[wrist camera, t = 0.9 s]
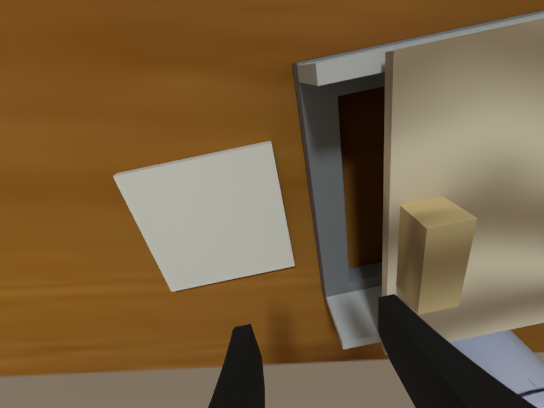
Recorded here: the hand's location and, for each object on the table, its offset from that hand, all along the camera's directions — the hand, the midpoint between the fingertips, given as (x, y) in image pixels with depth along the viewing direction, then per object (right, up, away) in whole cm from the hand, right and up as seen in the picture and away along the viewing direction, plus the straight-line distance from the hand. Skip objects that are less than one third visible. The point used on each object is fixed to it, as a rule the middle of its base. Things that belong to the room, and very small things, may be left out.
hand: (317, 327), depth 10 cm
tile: (-6, +3, +9) cm, 11 cm away
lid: (+10, +4, +4) cm, 12 cm away
